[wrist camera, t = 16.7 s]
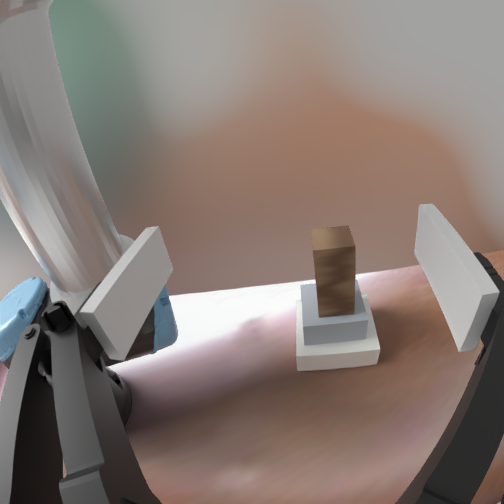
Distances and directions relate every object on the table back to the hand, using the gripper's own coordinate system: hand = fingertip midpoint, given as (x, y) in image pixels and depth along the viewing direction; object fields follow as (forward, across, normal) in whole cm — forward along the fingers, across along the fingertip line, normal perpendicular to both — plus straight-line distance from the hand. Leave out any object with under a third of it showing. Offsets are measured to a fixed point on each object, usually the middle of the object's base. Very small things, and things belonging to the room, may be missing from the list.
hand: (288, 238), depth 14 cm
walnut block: (+20, +4, -22) cm, 30 cm away
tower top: (+20, +3, -27) cm, 34 cm away
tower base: (+20, +4, -31) cm, 37 cm away
